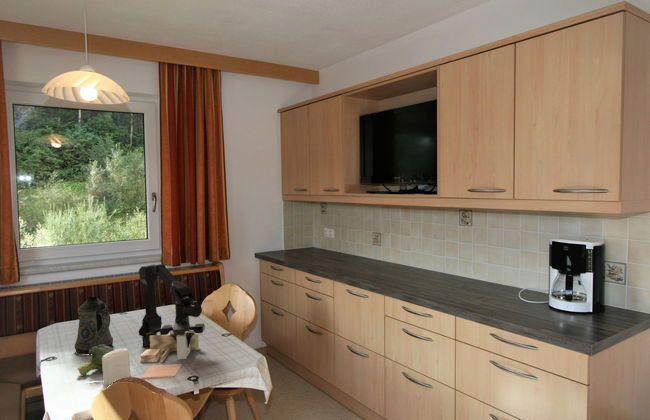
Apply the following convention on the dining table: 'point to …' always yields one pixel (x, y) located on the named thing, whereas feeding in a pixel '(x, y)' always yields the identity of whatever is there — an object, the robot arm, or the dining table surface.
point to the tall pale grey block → (182, 346)
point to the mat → (161, 371)
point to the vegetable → (95, 359)
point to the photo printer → (115, 365)
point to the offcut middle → (151, 359)
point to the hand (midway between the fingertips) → (183, 347)
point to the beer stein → (93, 326)
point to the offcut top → (150, 353)
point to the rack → (170, 344)
